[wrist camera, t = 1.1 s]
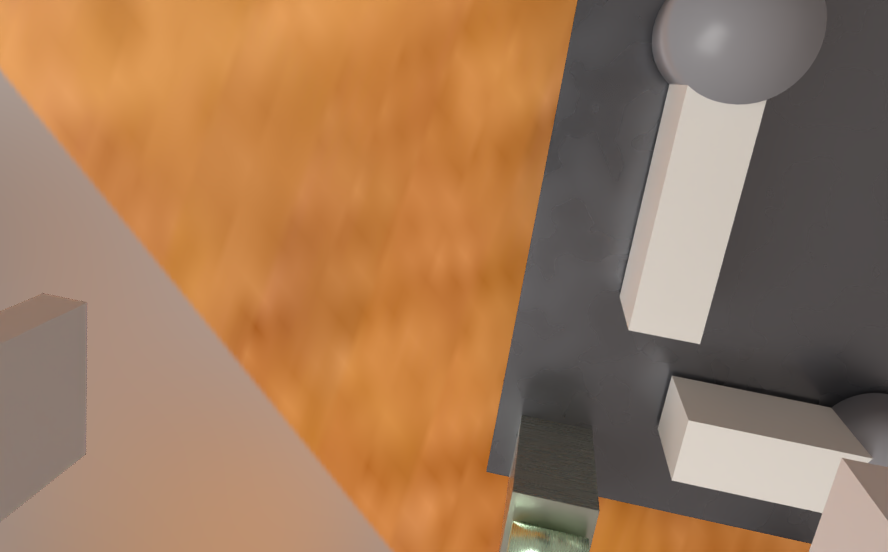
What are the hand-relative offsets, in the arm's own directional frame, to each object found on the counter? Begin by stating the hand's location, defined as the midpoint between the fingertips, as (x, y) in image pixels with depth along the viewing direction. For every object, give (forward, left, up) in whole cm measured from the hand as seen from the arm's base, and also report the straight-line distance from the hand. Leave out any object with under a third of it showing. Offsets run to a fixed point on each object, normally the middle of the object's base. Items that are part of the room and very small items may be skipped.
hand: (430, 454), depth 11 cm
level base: (-1, +9, -20) cm, 22 cm away
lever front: (-4, +6, -18) cm, 20 cm away
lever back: (+6, +12, -18) cm, 23 cm away
